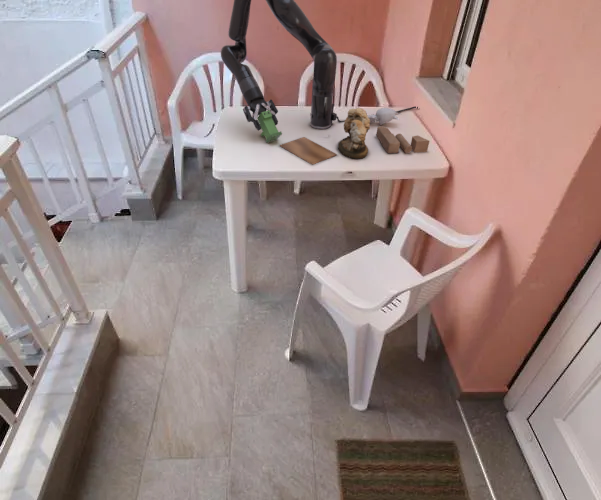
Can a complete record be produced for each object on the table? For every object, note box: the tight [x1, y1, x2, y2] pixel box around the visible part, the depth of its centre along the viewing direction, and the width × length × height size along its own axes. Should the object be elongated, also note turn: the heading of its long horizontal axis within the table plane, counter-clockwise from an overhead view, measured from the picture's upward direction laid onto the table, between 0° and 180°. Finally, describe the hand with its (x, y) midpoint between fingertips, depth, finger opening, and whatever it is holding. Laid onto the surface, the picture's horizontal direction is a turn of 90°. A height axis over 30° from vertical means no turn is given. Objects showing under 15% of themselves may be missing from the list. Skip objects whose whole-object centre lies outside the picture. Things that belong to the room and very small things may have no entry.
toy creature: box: [367, 107, 401, 126], centre depth 188 cm, size 13×7×20 cm
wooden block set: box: [375, 125, 430, 154], centre depth 173 cm, size 17×6×18 cm
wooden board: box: [279, 136, 337, 165], centre depth 167 cm, size 13×20×1 cm, turn 40°
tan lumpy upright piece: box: [337, 107, 371, 160], centre depth 164 cm, size 18×12×17 cm, turn 11°
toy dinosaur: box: [257, 110, 283, 143], centre depth 170 cm, size 11×5×12 cm, turn 40°
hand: (268, 127), depth 170 cm, fingers open, 8 cm apart
